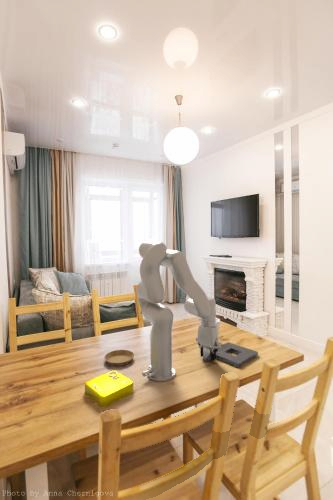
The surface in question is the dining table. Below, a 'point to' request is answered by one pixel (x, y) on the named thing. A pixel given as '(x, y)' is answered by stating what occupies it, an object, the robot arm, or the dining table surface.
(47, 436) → the dining table surface
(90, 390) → the element tile
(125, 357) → the plant saucer
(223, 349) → the flange
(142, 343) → the dining table surface
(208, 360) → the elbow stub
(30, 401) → the dining table surface
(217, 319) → the foam cup
